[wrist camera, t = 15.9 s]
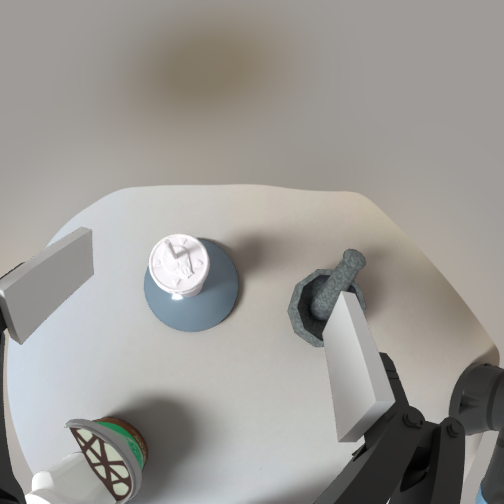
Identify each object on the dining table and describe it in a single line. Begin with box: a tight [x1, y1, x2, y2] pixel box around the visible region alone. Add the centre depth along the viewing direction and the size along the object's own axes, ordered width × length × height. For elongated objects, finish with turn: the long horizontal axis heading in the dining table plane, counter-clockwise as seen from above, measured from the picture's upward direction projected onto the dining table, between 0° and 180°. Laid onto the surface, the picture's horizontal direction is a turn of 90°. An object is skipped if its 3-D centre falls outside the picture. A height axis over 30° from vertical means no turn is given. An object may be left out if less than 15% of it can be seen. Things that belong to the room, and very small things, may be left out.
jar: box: [25, 453, 125, 504], centre depth 18 cm, size 12×10×15 cm
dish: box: [144, 239, 238, 332], centre depth 37 cm, size 13×13×1 cm
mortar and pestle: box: [288, 249, 366, 347], centre depth 33 cm, size 11×9×12 cm
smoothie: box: [149, 234, 210, 297], centre depth 30 cm, size 6×6×14 cm
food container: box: [64, 417, 148, 504], centre depth 24 cm, size 12×6×10 cm, turn 28°
